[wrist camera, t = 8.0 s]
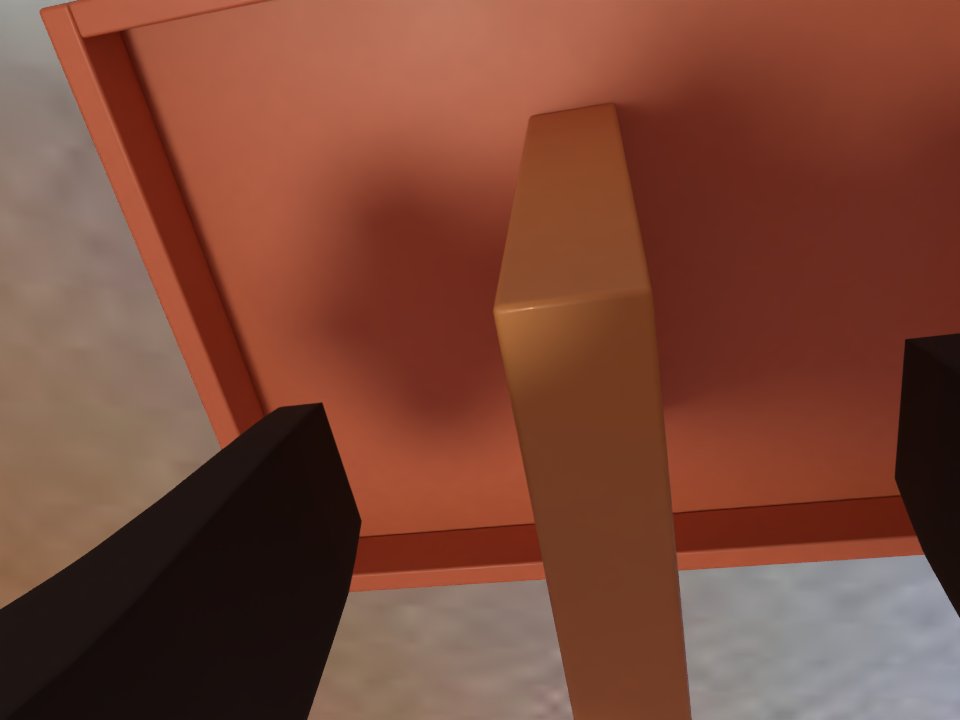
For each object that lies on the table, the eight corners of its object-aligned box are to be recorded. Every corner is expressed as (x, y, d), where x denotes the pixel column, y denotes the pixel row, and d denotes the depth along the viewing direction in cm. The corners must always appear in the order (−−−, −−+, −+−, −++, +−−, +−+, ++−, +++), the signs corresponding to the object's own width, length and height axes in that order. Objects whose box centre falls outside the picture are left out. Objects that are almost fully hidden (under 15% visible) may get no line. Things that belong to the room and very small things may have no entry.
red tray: (1105, -220, 11) (1194, -237, 9) (996, 486, 17) (1040, 548, 15) (97, -5, 13) (36, 9, 12) (305, 540, 19) (282, 597, 18)
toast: (615, 101, 13) (652, 286, 7) (647, 412, 16) (693, 737, 10) (528, 116, 13) (491, 307, 7) (575, 420, 16) (577, 740, 10)
